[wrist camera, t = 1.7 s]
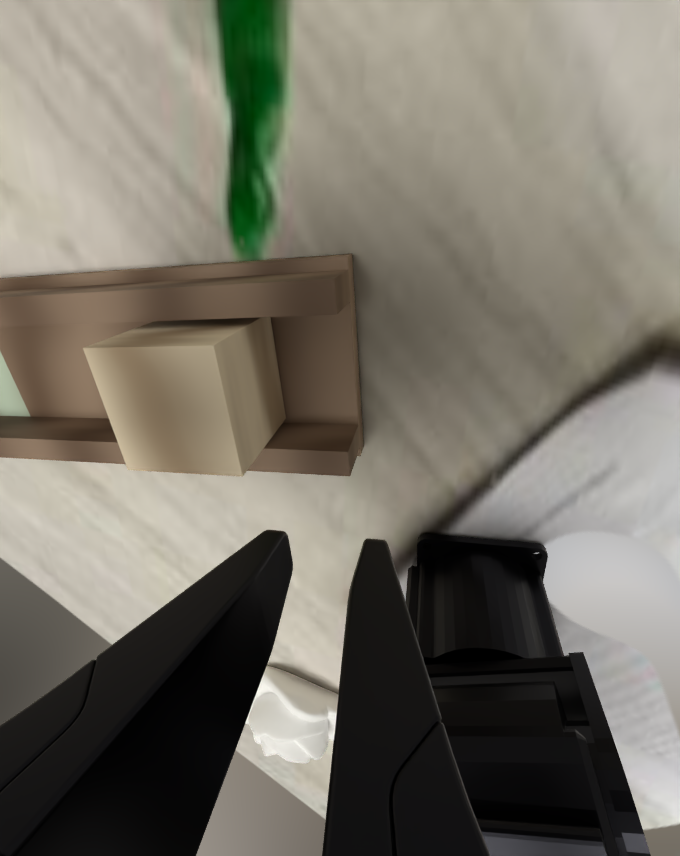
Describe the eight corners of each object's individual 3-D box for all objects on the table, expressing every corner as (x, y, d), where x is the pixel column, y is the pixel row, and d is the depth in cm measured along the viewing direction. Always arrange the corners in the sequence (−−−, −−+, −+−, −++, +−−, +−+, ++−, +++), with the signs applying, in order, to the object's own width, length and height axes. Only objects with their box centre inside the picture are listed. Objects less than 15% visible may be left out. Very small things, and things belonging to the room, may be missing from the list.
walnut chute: (352, 253, 17) (312, 272, 11) (363, 445, 21) (338, 523, 15) (-112, 286, 22) (-279, 308, 17) (-32, 431, 26) (-147, 484, 21)
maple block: (269, 312, 17) (213, 345, 13) (286, 418, 20) (242, 476, 15) (166, 316, 18) (82, 348, 14) (192, 416, 21) (127, 469, 16)
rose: (318, 720, 26) (370, 801, 29) (334, 655, 30) (378, 733, 33) (194, 719, 29) (254, 791, 33) (223, 660, 33) (273, 730, 37)
